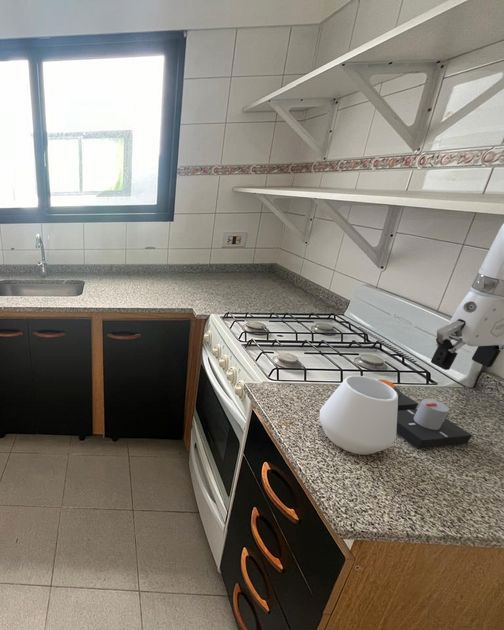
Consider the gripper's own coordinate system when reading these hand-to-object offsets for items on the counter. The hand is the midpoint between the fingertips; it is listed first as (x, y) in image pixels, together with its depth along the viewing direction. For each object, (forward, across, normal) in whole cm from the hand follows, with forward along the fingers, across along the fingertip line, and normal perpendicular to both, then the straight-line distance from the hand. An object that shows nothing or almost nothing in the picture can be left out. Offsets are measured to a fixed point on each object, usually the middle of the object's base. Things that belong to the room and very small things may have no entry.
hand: (460, 364), depth 71 cm
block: (+18, -1, +11) cm, 21 cm away
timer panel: (+18, -1, 0) cm, 18 cm away
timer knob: (+15, -1, 0) cm, 15 cm away
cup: (+18, -19, 0) cm, 26 cm away
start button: (+14, -1, +11) cm, 18 cm away
